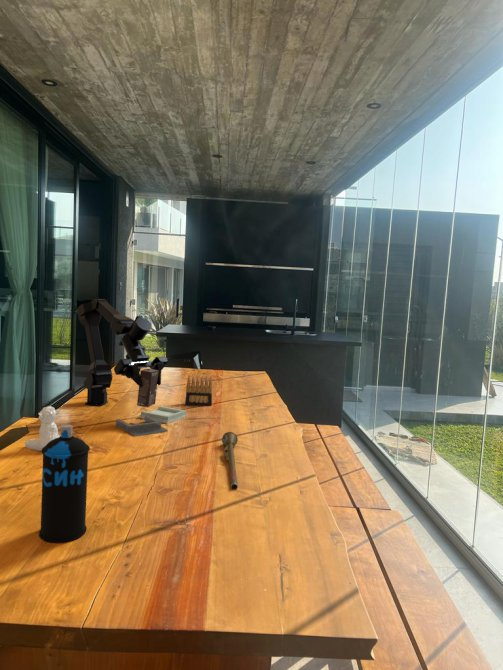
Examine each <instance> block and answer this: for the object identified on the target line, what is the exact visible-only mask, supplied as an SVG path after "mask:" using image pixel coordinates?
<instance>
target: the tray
mask: <svg viewBox="0 0 503 670" xmlns="http://www.w3.org/2000/svg"><path fill="white" fill-rule="evenodd" d="M145 416H150V417H152V418H154V419H156V420H158V421H160V422H161V424H162V423H163V424H167V425H168V424H170V423H173V422H176V421H180V420H181V419H184V418H186V417H187V410H185V409H179V408H173V407H167V406H163V405H158V407H157V409H154V410H151V411H144V410H143V411H142V410H141V411H140V414H139V415H138V418H139V419H143V420H145Z"/></svg>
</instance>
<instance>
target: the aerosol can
mask: <svg viewBox="0 0 503 670" xmlns="http://www.w3.org/2000/svg"><path fill="white" fill-rule="evenodd" d="M59 436H60V437H58V438H55V439H53V440H51V441H50V442H49V443H48V444H47V445H46V446H45V447H43V448H42V451H41V454H42V472H41V473H42V475H41V476H42V477H41V478H42V479H41V480H42V481H41V506H40V508H41V509H40V513H41V514H40V529H39V531H38V536H39V538H40V539H41V540H42V541H45V542H47V543H52V544H53V543H55V544H58V543H59V544H62V543H63V544H64V543H69V542H73V541H75V540H78V539H79V538H81V537H82V536H83V535H85V534H86V532H87V525H86V521H87V520H86V516H87V515H86V514H87V513H86V512H87V491H88V489H87V488H88V466H89V464H88V463H89V452H90V449H91V447H90V446H89V445H88V444H87V443H86V441H84V440H83V439H81V438H79V437H77V436H76V437H75V436H73V425H72V424H63V425H61V426H60V435H59Z"/></svg>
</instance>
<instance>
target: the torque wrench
mask: <svg viewBox="0 0 503 670" xmlns="http://www.w3.org/2000/svg"><path fill="white" fill-rule="evenodd" d="M222 435H223V436H222V438H221V442H222V444H223V446H224V447H225V448H224V449H223V451H222V452H223V455H224V458H225V459H226V462H227V463H229V467H228V468H229V476H230V488H231V490H233V489H235V490H238V479H237V469H236V460H235V453H234V447H235V446H236V445H237V444H238V436H237V434H236V433H235V432H232V431H227V432H225V433H224V434H222Z"/></svg>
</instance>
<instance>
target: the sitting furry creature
mask: <svg viewBox="0 0 503 670" xmlns="http://www.w3.org/2000/svg"><path fill="white" fill-rule="evenodd" d="M61 411H62V410H61V409H55V407H53V406H49V405H48V406H45V407H43V408H42V409H41V410H40V411H39V412H38V415H39V416H38V420H40V421H41V424H40V427H39V430H38V435H39V437H38V439H37V438H30V439H28V440H26V441H25V442H24V447H25V448H27V449H28V450H33V451H36V452H37V451H39V452H42V448H43V447H45V446H46V445H47V444H48V443H49V442H50V441H51V440H53V439H55V438H58V437H60V436H61V435H59V430H58V425H57V424H56V422H55V421H56V419H57V417H58V415H60V414H61Z"/></svg>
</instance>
